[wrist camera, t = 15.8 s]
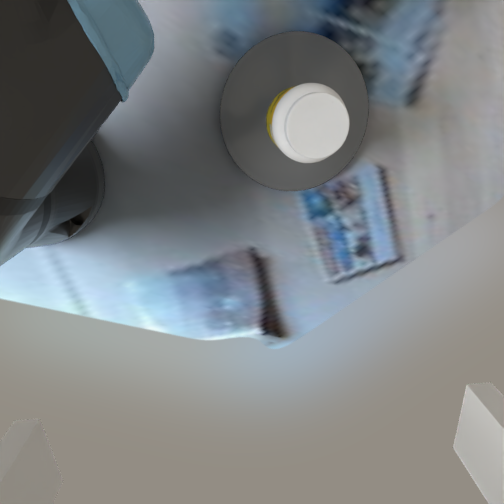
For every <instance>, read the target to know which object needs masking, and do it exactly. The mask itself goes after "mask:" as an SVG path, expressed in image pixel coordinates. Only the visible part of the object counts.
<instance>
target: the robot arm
mask: <svg viewBox="0 0 504 504" xmlns="http://www.w3.org/2000/svg"><path fill="white" fill-rule="evenodd" d="M153 50H154V33H153V30H152V26H151V24H150V21H149V19H148V17H147V15H146V13H145V11H144V10H143V8H142V7H141V5H140V3H139V2H138V1H137V0H0V266H1V265H3V264H4V263H5V262H7V261H8V260H10V259H11V258H12V257H14V256H15V255H17V254H18V253H20V252H21V251H22V250H24V249H25V248H31V247H39V246H47V245H52V244H56V243H59V242H62V241H64V240H67V239H69V238H70V237H72V236H74V235H75V234H77V233H78V232H79V231H80V230H82V229H83V228H84V227H85V226H86V225H87V224H89V223H90V221H91V220H92V219H93V218H94V216H95V215H96V213H97V212H98V210H99V208H100V205H101V203H102V199H103V195H104V186H105V181H104V172H103V167H102V163H101V160H100V157H99V154H98V152H97V150H96V148H95V146H94V144H93V143H92V141H91V139H92V138H93V136H94V135H95V134H96V132H97V131H98V130H99V128H100V127H101V126H102V124H103V123H104V122H105V120H106V119H107V118H108V117H109V115H110V114H111V113H112V111H113V110H114V109H115V107H116V106H117V105H118V103H119V102H120V101H122V102H125V101H126V100H127V98H128V95H129V92H128V91H129V89H130V88H131V86H132V85H133V84H134V82H135V81H136V79H137V78H138V76H139V75H140V73H141V72H142V71H143V69H144V68H145V66H146V65H147V63H148V62H149V60H150V58H151V56H152V53H153ZM453 449H454V450H455V452H456V453H457V455H458V457H459V458H460V460H461V461H462V463H463V464H464V466H465V467H466V469H467V471H468V472H469V474H470V475H471V477H472V478H473V480H474V482H475V483H476V485H477V486H478V488H479V489H480V491H481V493H482V494H483V496H484V497H485V499H486V500H487V502H488V503H489V504H504V396H503V395H502V394H501V393H500V392H499V391H498V390H497V388H496V387H495V386H494V385H493V384H492V383H491V382H490V383H477V384H467V385H466V390H465V395H464V399H463V404H462V409H461V413H460V418H459V422H458V427H457V432H456V437H455V441H454V446H453ZM62 482H63V478H62V476H61V473H60V471H59V468H58V465H57V462H56V460H55V457H54V454H53V452H52V449H51V446H50V444H49V441H48V438H47V436H46V433H45V430H44V428H43V425H42V422H41V420H40V419H27V420H15V421H14V422H13V423H12V425H11V426H10V428H9V429H8V431H7V432H6V434H5V435H4V436H3V438H2V439H1V441H0V504H53V502H54V500H55V498H56V496H57V494H58V491H59V489H60V487H61V485H62Z"/></svg>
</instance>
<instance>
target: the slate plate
mask: <svg viewBox="0 0 504 504" xmlns="http://www.w3.org/2000/svg"><path fill="white" fill-rule="evenodd" d="M304 83H319V84H323V85H326V86H328V87H330V88H331V89H333V90H334V91H335V92H336V93H337V94H338V95H339V96H340V97H341V99H342V100H343V102H344V104H345V107H346V109H347V112H348V115H349V123H350V125H349V132H348V135H347V138H346V140H345V142H344V143H343V145H342V146H341V147H340V148H339V149H338V150H337V151H336V152H335V153H333V154H332V155H331V156H329V157H328V158H326V159H324V160H321V161H319V162H315V163H301V162H297V161H295V160H292V159H291V158H289V157H287V156H286V155H285V154H284V153H283V152H282V151H281V150H280V149H279V148H278V147H277V146H276V145H275V144H274V143H273V141H272V140H271V138H270V137H269V135H268V132H267V128H266V114H267V110H268V107H269V105H270V103H271V102H272V100H273V99H274V98H275V97H276V96H277V95H278V94H279V93H280V92H282V91H283V90H285V89H287V88H290V87H293V86H297V85H300V84H304ZM368 113H369V102H368V94H367V89H366V85H365V81H364V79H363V76H362V74H361V71H360V70H359V68H358V66H357V64H356V63H355V61H354V60H353V59H352V57H351V56H350V55H349V54H348V53H347V52H346V51H345V50H344V49H343V48H342V47H341V46H339V45H338V44H337V43H335V42H334V41H332V40H330V39H328V38H326V37H324V36H321V35H318V34H315V33H310V32H304V31H292V32H285V33H280V34H277V35H274V36H271V37H269V38H267V39H265V40H263V41H261V42H259V43H258V44H256V45H255V46H253V47H252V48H251V49H250V50H249V51H248V52H246V53H245V54H244V56H243V57H242V58H241V59H240V60H239V61H238V63H237V64H236V65H235V67H234V68H233V70H232V72H231V74H230V76H229V78H228V79H227V82H226V85H225V87H224V90H223V95H222V99H221V107H220V124H221V131H222V135H223V139H224V142H225V145H226V147H227V149H228V152H229V153H230V155H231V157H232V158H233V160H234V161H235V163H236V164H237V165H238V167H239V168H240V169H241V170H242V171H243V172H244V173H245V174H246V175H248V176H249V177H250V178H252V179H253V180H255V181H256V182H258V183H260V184H262V185H264V186H267V187H269V188H273V189H276V190H283V191H299V190H306V189H309V188H313V187H316V186H318V185H321V184H323V183H325V182H326V181H328V180H330V179H331V178H333V177H334V176H335V175H337V174H338V173H339V172H340V171H341V170H342V169H344V168H345V167H346V165H347V164H348V163H349V162H350V161H351V159H352V158H353V156H354V155H355V153H356V152H357V150H358V148H359V146H360V144H361V142H362V139H363V137H364V134H365V130H366V126H367V121H368Z"/></svg>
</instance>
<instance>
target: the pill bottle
mask: <svg viewBox="0 0 504 504" xmlns="http://www.w3.org/2000/svg"><path fill="white" fill-rule="evenodd" d="M349 125H350V123H349V115H348V112H347V109H346V107H345V104H344V102H343V100H342V99H341V97H340V96H339V95H338V94H337V93H336V92H335V91H334V90H333V89H331V88H330V87H328V86H326V85H323V84H319V83H304V84H300V85H297V86H293V87H290V88H287V89H285V90H283V91H282V92H280V93H279V94H278V95H277V96H276V97H275V98H274V99H273V100H272V102H271V103H270V105H269V107H268V110H267V114H266V128H267V132H268V135H269V137H270V138H271V140H272V141H273V143H274V144H275V145H276V146H277V147H278V148H279V149H280V150H281V151H282V152H283V153H284V154H285V155H286V156H287V157H289V158H291V159H292V160H295V161H297V162H301V163H315V162H319V161H321V160H324V159H326V158H328V157H329V156H331V155H332V154H333V153H335V152H336V151H337V150H338V149H339V148H340V147H341V146H342V145H343V143H344V142H345V140H346V138H347V135H348V132H349Z"/></svg>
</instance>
